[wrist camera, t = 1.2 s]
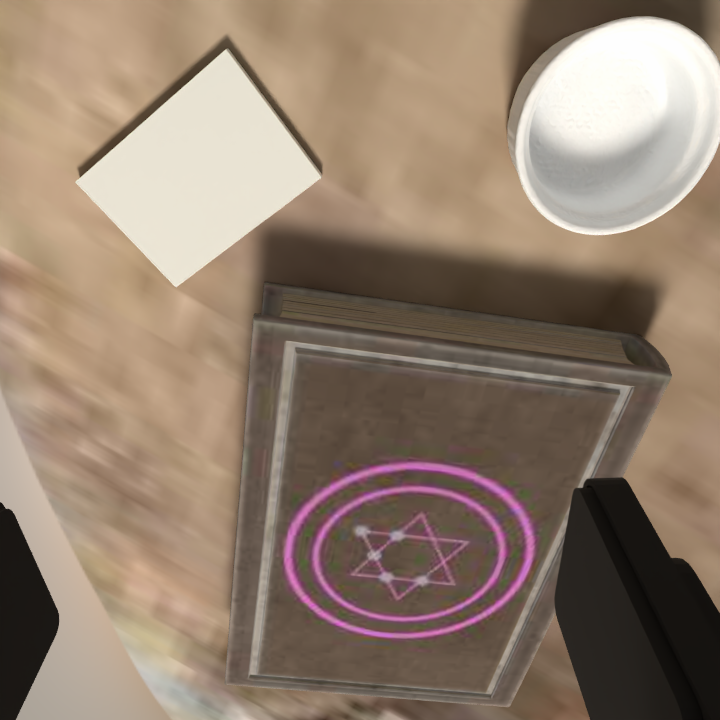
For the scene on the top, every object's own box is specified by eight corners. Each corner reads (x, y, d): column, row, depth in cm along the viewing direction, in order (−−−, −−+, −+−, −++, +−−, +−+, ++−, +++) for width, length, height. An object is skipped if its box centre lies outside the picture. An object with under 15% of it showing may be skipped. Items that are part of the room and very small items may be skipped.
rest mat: (228, 48, 28) (225, 49, 27) (322, 174, 31) (321, 177, 30) (80, 178, 31) (75, 182, 30) (178, 283, 34) (175, 287, 33)
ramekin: (719, 56, 28) (775, 64, 24) (617, 231, 32) (652, 261, 29) (549, -18, 27) (581, -21, 23) (466, 176, 31) (481, 199, 27)
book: (265, 278, 34) (252, 318, 30) (642, 331, 36) (682, 376, 32) (235, 625, 49) (224, 685, 45) (501, 649, 51) (515, 708, 47)
